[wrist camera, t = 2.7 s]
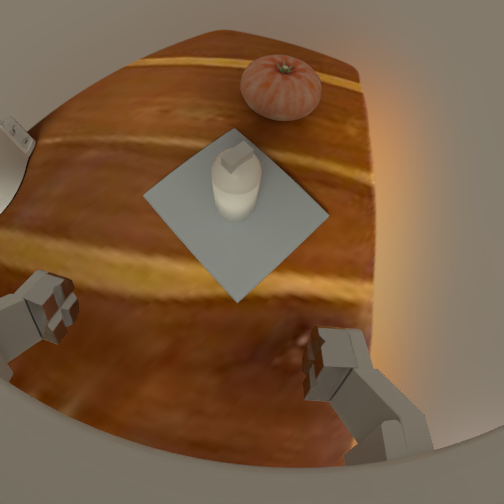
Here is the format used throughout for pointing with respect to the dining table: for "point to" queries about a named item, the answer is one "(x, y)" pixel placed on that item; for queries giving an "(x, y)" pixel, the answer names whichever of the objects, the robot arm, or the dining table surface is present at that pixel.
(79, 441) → the robot arm
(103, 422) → the dining table surface
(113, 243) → the dining table surface
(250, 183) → the white rounded bottle
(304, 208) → the grey pad
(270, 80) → the tomato
